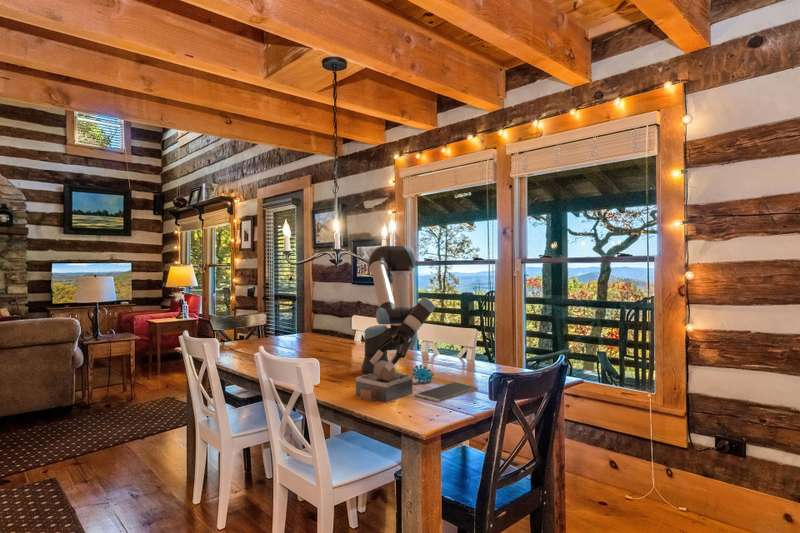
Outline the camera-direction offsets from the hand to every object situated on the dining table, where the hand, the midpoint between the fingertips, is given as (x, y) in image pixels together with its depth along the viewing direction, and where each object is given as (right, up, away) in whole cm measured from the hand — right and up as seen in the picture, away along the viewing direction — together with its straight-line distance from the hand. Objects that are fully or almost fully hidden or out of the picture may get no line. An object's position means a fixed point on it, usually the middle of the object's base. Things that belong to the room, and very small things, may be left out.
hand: (379, 366), depth 199 cm
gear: (+20, -12, +21) cm, 31 cm away
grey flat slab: (+29, -13, +3) cm, 32 cm away
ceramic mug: (+3, -6, +2) cm, 8 cm away
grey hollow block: (+1, -12, 0) cm, 12 cm away
